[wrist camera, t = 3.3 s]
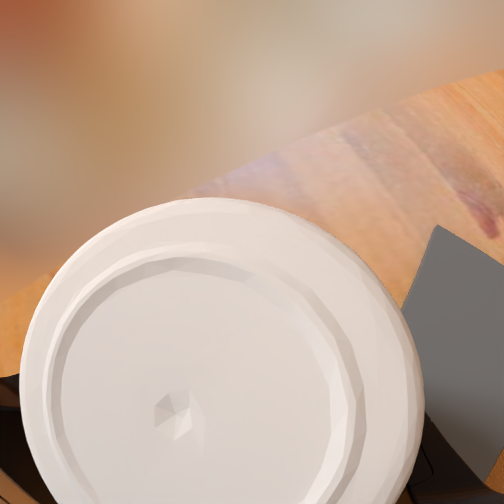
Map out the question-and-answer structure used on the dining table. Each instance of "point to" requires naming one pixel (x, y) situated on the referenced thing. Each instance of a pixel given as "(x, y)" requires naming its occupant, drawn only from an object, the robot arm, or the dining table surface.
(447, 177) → the dining table surface
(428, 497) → the robot arm
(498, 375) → the charcoal mat
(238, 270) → the spice jar
